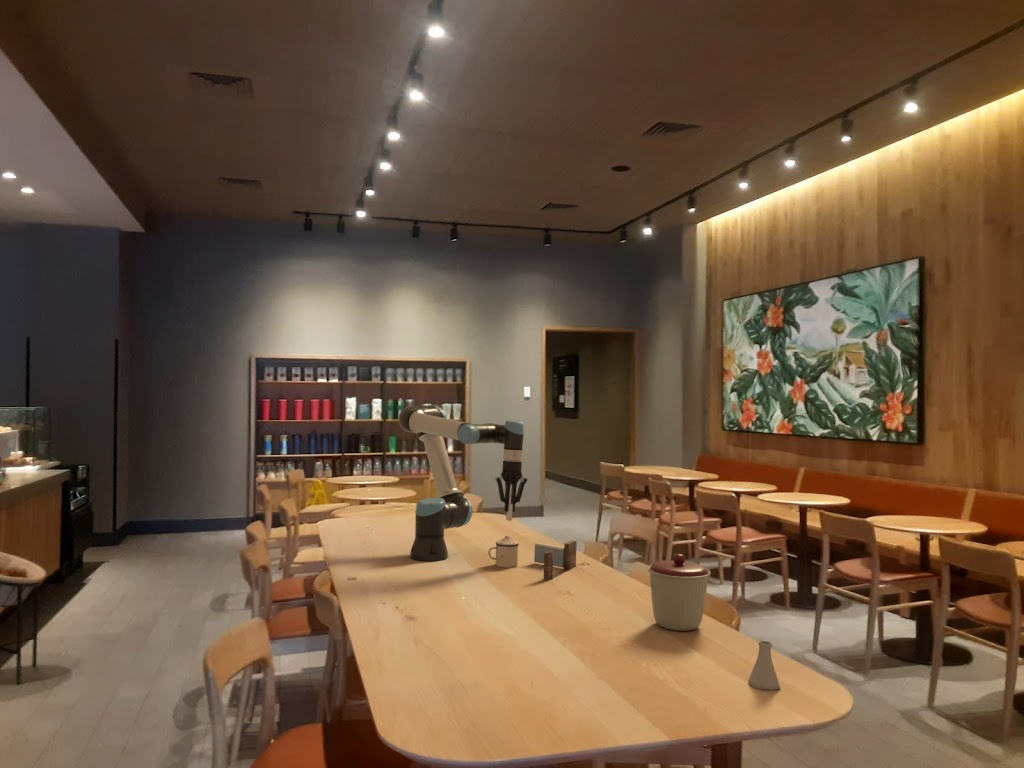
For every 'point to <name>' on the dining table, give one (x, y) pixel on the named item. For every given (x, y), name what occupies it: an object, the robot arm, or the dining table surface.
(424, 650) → the dining table surface
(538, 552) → the gate
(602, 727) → the dining table surface
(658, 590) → the canister
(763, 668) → the flask
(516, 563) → the teacup with lid
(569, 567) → the frame
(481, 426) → the robot arm
